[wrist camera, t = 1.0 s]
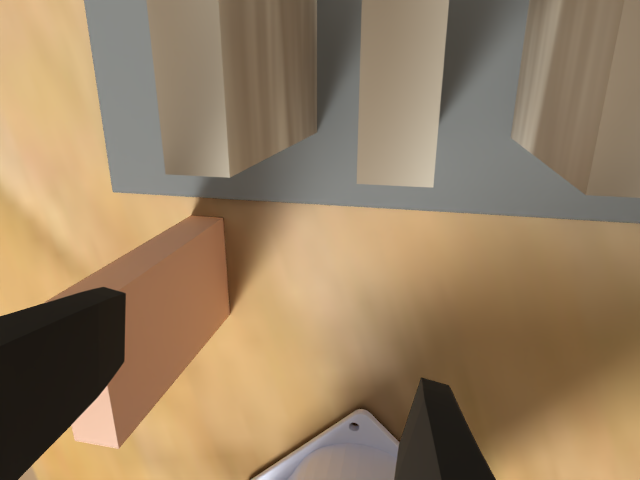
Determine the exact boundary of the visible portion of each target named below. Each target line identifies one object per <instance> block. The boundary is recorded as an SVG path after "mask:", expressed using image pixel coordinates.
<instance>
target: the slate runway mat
mask: <svg viewBox="0 0 640 480" xmlns="http://www.w3.org/2000/svg"><path fill="white" fill-rule="evenodd" d="M84 3H85V10H86V17H87V23H88V30H89V37H90V43H91V50H92V57H93V63H94V70H95V77H96V83H97V90H98V97H99V103H100V110H101V116H102V123H103V130H104V136H105V143H106V150H107V156H108V163H109V170H110V176H111V183H112V190H113V192H119V193H136V194H152V195H169V196H186V197H203V198H220V199H237V200H254V201H271V202H287V203H304V204H321V205H338V206H355V207H372V208H389V209H405V210H422V211H439V212H456V213H473V214H490V215H507V216H524V217H540V218H557V219H574V220H591V221H608V222H625V223H640V198H633V197H612V196H592V195H585V194H584V193H582V192H581V191H580V190H578V189H577V188H576V187H574V186H573V185H572V184H571V183H569V182H568V181H567V180H565V179H564V178H563V177H561V176H560V175H559V174H557V173H556V172H555V171H553V170H552V169H551V168H550V167H548V166H547V165H546V164H544V163H543V162H542V161H540V160H539V159H538V158H536V157H535V156H534V155H533V154H531V153H530V152H529V151H527V150H526V149H525V148H523V147H522V146H521V145H519V144H518V143H517V142H515V141H514V140H513V139H512V138H511V131H512V124H513V117H514V109H515V102H516V95H517V87H518V80H519V73H520V65H521V58H522V51H523V44H524V36H525V29H526V22H527V14H528V7H529V0H449V8H448V20H447V32H446V43H445V55H444V67H443V79H442V91H441V102H440V114H439V126H438V138H437V150H436V161H435V173H434V185H433V188H430V187H410V186H390V185H369V184H357V154H358V119H359V84H360V49H361V14H362V0H317V133H315V134H313V135H311V136H309V137H307V138H305V139H303V140H302V141H300V142H298V143H296V144H294V145H292V146H290V147H288V148H286V149H284V150H282V151H280V152H278V153H276V154H274V155H273V156H271V157H269V158H267V159H265V160H263V161H261V162H259V163H257V164H255V165H253V166H251V167H249V168H247V169H245V170H243V171H242V172H240V173H238V174H236V175H234V176H232V177H230V178H228V177H207V176H187V175H167V174H165V165H164V156H163V147H162V138H161V129H160V120H159V111H158V102H157V93H156V83H155V74H154V65H153V56H152V47H151V38H150V29H149V20H148V11H147V2H146V0H84Z"/></svg>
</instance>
